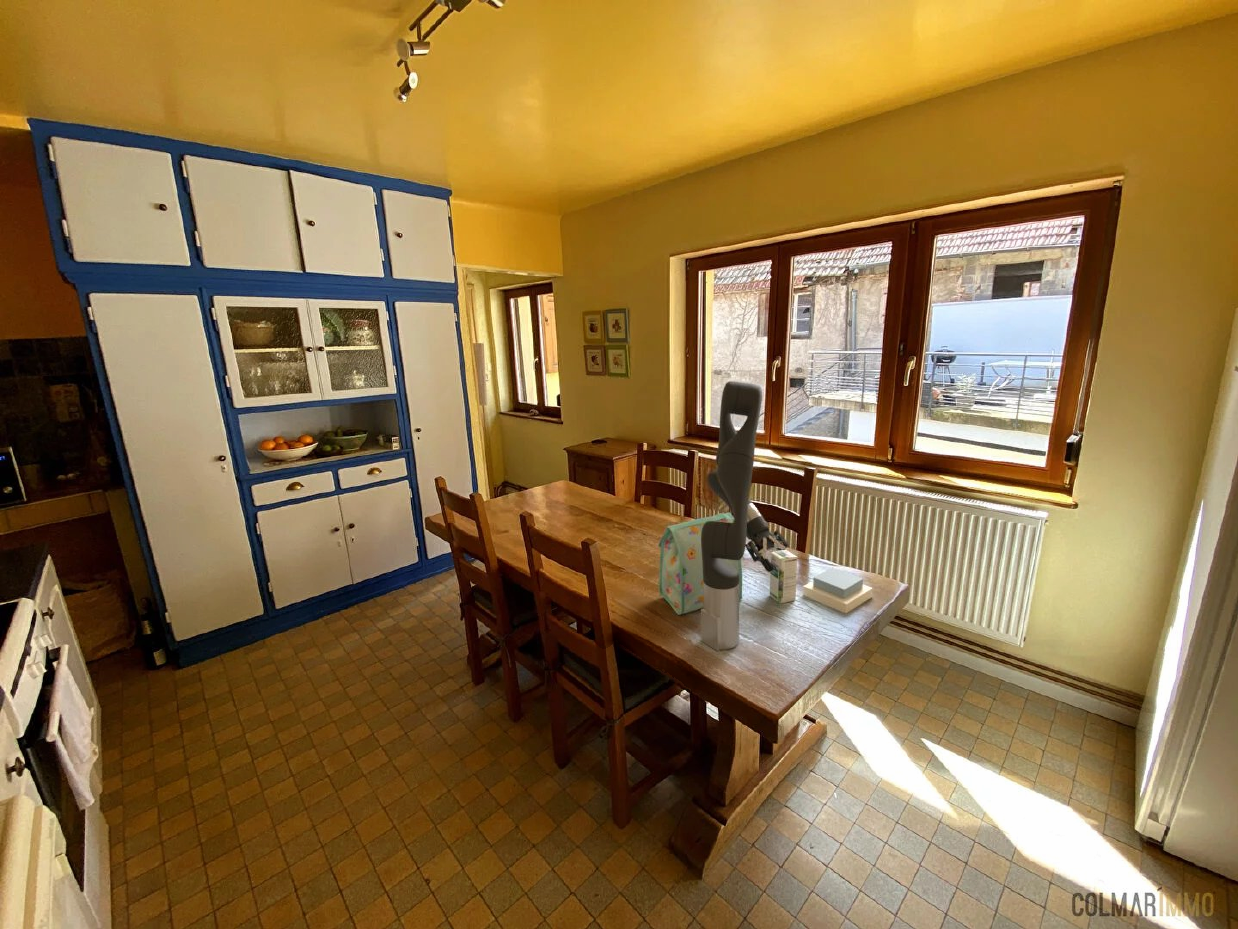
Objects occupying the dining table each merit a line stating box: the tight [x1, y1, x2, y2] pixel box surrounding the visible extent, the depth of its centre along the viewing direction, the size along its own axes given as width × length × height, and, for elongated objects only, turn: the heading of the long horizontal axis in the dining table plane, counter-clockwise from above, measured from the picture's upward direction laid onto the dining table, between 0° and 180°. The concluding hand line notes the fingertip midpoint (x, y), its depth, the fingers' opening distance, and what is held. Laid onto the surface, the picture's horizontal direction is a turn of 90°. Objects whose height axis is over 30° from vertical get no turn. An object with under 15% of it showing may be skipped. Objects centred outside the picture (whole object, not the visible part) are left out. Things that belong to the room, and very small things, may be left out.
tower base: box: [802, 567, 873, 614], centre depth 152 cm, size 14×14×6 cm
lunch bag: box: [657, 512, 743, 616], centre depth 153 cm, size 23×16×27 cm
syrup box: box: [769, 549, 798, 604], centre depth 152 cm, size 6×6×14 cm
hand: (780, 566), depth 152 cm, fingers open, 8 cm apart
